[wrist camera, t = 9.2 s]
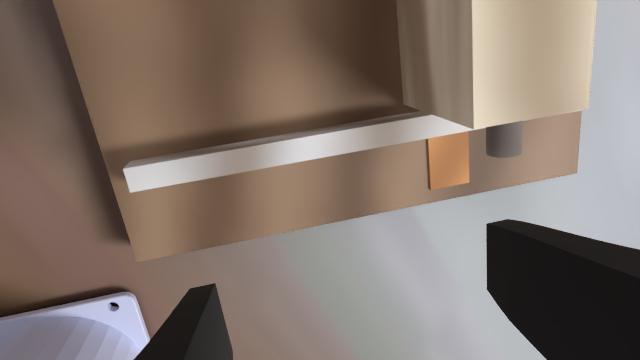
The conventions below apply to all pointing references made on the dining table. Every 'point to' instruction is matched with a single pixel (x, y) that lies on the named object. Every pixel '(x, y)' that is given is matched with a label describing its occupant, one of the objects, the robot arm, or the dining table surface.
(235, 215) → the walnut board
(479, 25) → the block
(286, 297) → the dining table surface
